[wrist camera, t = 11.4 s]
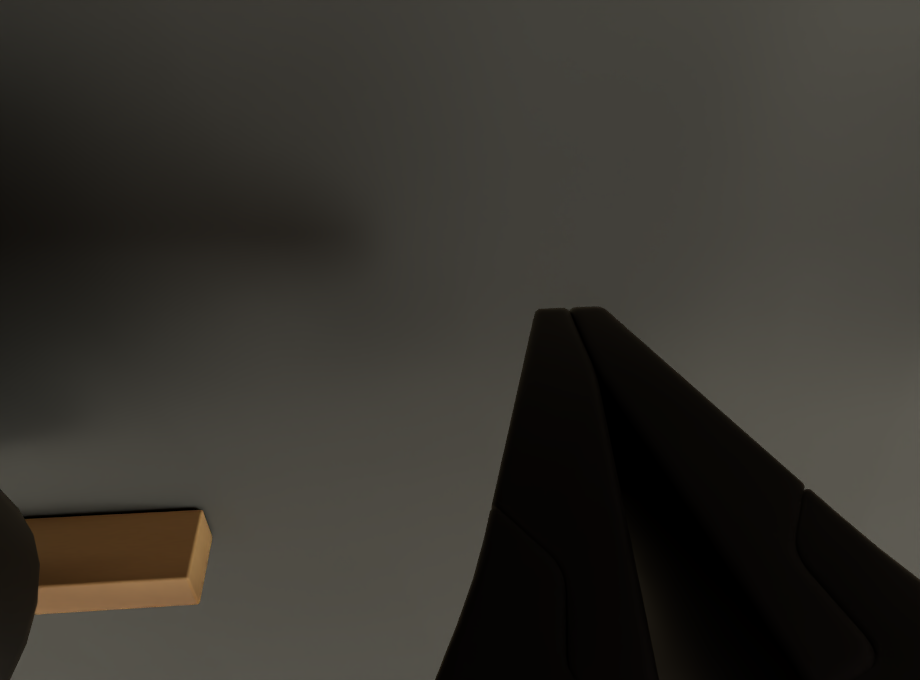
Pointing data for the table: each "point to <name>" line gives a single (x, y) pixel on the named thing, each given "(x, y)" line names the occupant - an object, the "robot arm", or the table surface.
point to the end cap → (16, 584)
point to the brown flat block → (120, 560)
